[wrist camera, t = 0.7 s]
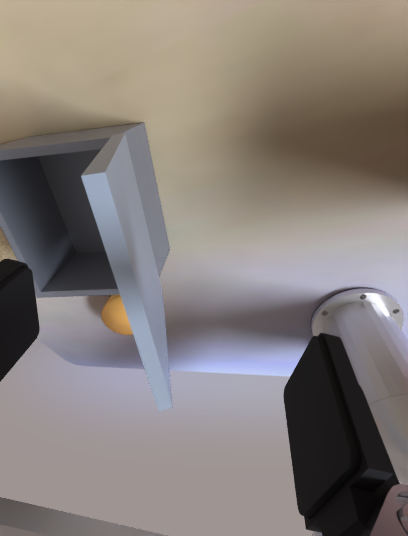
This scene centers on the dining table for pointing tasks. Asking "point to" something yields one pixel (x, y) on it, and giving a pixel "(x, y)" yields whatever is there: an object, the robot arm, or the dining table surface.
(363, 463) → the robot arm
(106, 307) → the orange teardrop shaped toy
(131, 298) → the lid
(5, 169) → the storage box
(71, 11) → the dining table surface
